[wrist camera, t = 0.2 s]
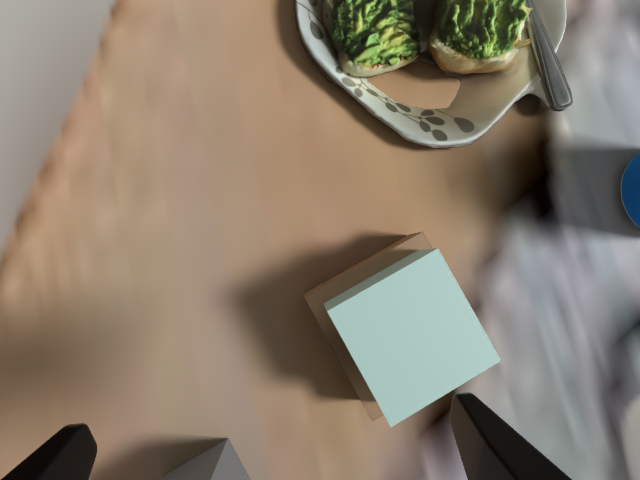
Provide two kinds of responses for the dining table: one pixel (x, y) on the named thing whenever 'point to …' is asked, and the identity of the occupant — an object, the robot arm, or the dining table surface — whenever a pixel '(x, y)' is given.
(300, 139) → the dining table surface
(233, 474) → the charcoal block
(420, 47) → the salad plate
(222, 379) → the dining table surface
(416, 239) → the tan flat block
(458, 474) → the dining table surface
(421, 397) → the teal slab
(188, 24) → the dining table surface
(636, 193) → the beverage can
